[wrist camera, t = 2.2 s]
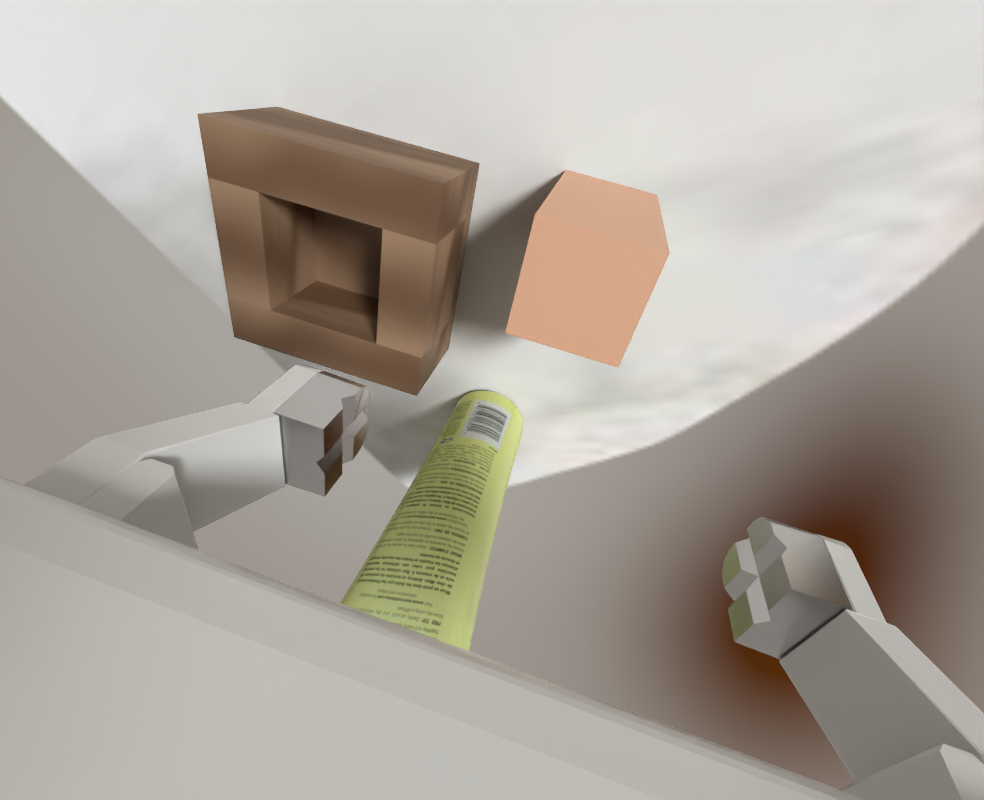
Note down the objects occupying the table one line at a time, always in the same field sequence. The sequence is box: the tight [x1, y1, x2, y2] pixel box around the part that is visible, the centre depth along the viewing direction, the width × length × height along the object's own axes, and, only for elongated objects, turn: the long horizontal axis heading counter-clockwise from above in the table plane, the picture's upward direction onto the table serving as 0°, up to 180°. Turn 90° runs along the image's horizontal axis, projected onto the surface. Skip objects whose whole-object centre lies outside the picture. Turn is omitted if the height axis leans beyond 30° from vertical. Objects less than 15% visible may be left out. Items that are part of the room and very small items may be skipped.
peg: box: [505, 170, 669, 367], centre depth 20 cm, size 4×4×9 cm
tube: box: [341, 391, 523, 651], centre depth 24 cm, size 6×5×20 cm
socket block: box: [198, 107, 479, 396], centre depth 24 cm, size 11×11×6 cm
